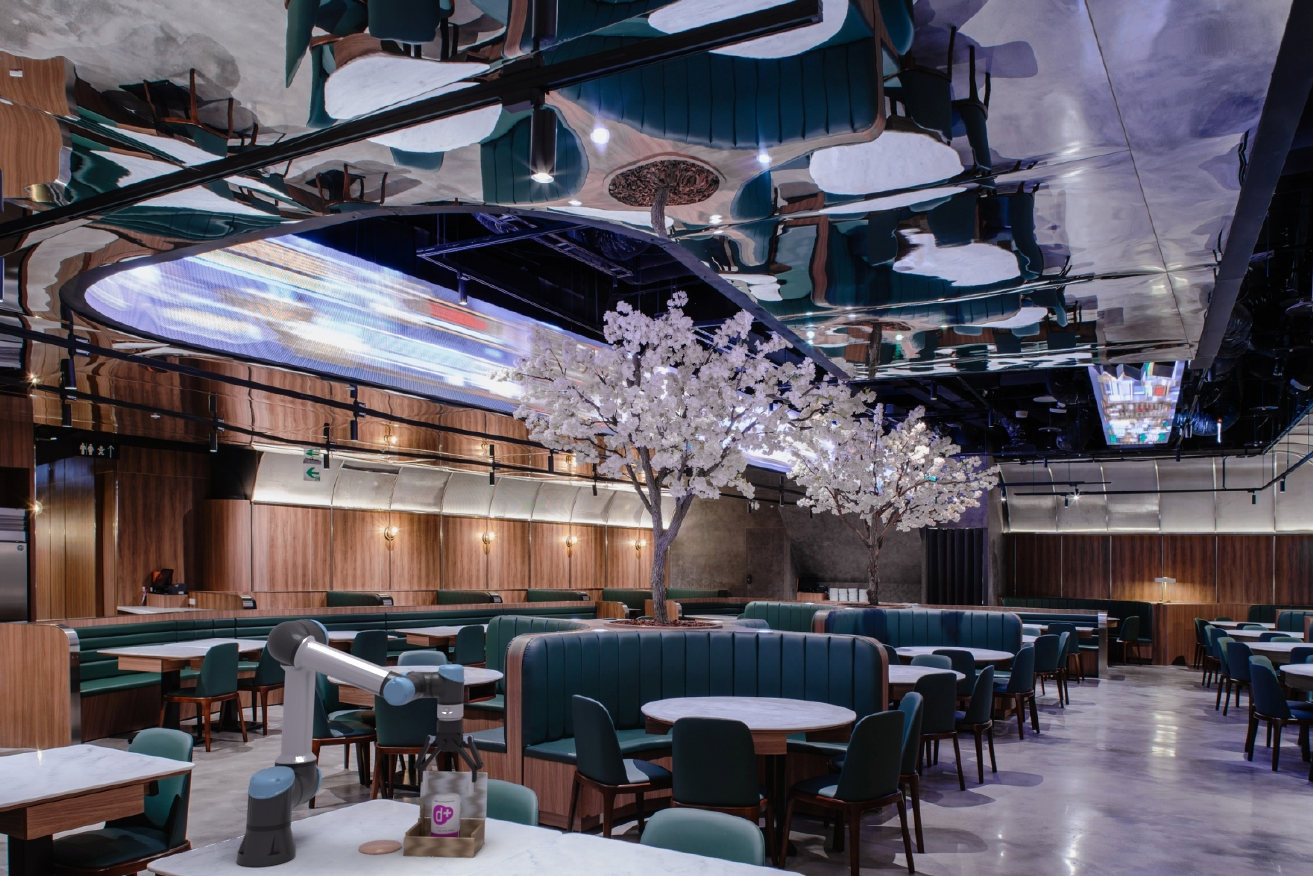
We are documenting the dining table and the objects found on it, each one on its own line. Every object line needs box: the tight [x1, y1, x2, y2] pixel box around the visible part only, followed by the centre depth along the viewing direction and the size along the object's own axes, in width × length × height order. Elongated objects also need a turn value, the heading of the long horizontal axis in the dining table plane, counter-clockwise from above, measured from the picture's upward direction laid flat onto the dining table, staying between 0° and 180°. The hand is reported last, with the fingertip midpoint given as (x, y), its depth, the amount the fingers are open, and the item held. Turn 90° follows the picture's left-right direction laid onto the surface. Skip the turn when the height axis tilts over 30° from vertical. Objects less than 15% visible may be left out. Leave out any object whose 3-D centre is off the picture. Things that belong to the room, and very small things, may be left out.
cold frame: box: [402, 770, 488, 859], centre depth 260 cm, size 20×14×20 cm
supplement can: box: [430, 793, 461, 838], centre depth 259 cm, size 8×8×15 cm
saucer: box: [358, 839, 403, 856], centre depth 259 cm, size 12×12×1 cm
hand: (447, 794), depth 260 cm, fingers open, 13 cm apart
